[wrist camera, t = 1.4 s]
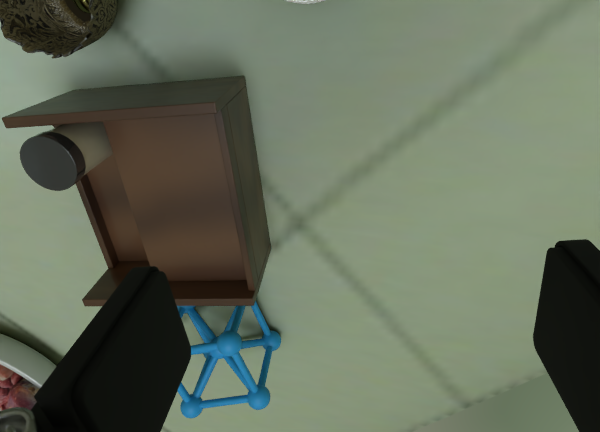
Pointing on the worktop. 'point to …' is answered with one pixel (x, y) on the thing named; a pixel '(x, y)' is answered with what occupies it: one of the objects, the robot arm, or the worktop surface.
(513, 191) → the worktop surface
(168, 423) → the worktop surface
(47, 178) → the spice jar
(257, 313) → the molecular structure
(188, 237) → the spice rack
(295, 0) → the white cup
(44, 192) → the worktop surface
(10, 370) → the bowl
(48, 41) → the brown hollow bell-shaped piece
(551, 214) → the worktop surface
